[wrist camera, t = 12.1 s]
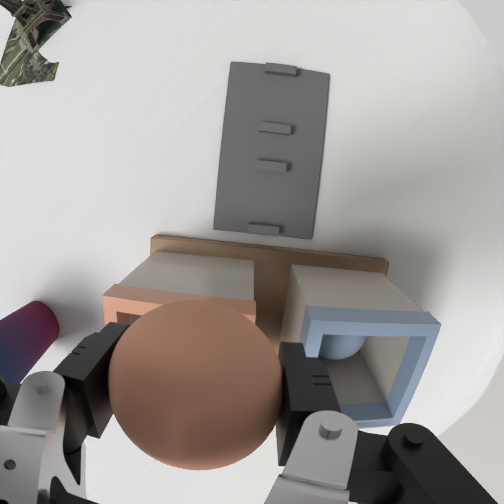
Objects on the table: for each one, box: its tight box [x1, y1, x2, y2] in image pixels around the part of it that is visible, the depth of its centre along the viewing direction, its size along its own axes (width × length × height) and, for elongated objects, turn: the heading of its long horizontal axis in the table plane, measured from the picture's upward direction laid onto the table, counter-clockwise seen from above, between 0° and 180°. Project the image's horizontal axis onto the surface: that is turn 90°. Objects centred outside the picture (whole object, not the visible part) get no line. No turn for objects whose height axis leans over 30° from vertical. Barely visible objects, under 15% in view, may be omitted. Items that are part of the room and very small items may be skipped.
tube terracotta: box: [102, 250, 256, 326], centre depth 21 cm, size 8×8×10 cm
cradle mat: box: [213, 62, 329, 239], centre depth 24 cm, size 14×8×1 cm, turn 174°
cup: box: [0, 301, 59, 384], centre depth 21 cm, size 7×7×15 cm
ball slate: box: [318, 334, 367, 360], centre depth 24 cm, size 5×5×5 cm
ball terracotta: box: [108, 300, 283, 470], centre depth 9 cm, size 5×5×5 cm
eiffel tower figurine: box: [0, 0, 72, 87], centre depth 14 cm, size 15×10×13 cm
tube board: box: [150, 235, 389, 356], centre depth 27 cm, size 10×20×1 cm, turn 84°
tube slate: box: [278, 264, 441, 429], centre depth 22 cm, size 8×8×10 cm
